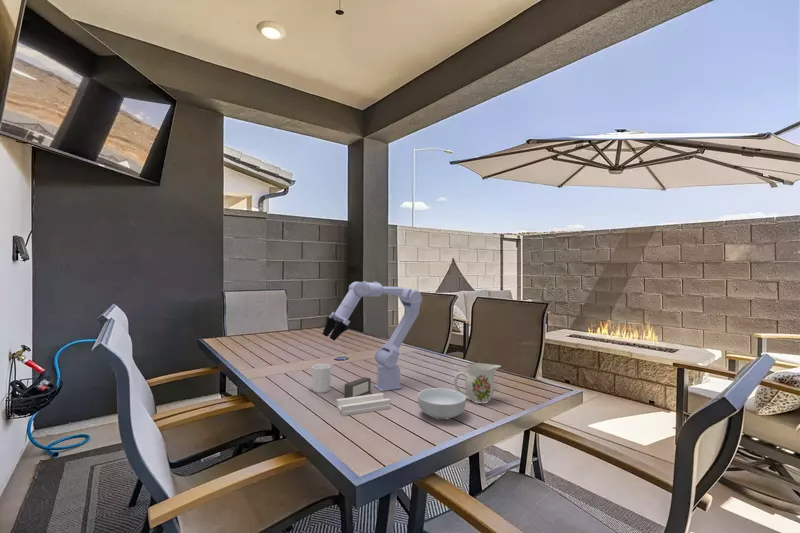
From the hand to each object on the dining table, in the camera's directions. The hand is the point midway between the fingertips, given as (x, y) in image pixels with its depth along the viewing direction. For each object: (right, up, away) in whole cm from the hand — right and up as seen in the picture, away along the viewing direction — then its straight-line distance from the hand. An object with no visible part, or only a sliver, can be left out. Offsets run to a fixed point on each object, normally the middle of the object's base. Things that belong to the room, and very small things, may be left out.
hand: (328, 337), depth 149 cm
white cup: (-5, -24, +9) cm, 26 cm away
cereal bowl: (+43, -24, -16) cm, 52 cm away
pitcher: (+58, -24, -2) cm, 63 cm away
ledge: (+15, -24, -10) cm, 30 cm away
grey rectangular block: (+11, -24, +3) cm, 27 cm away
